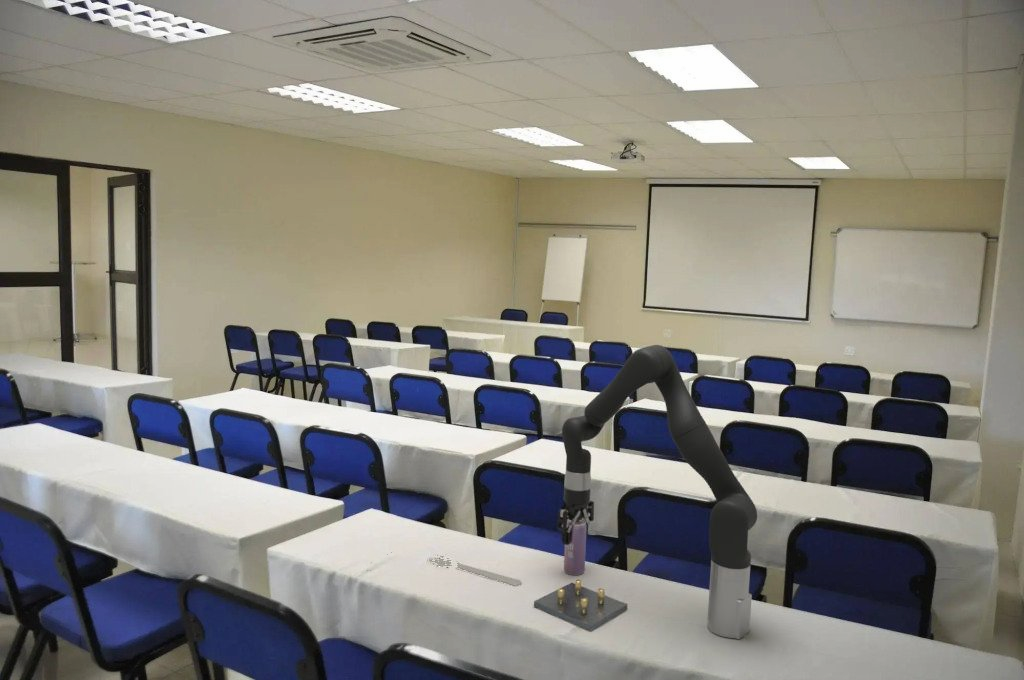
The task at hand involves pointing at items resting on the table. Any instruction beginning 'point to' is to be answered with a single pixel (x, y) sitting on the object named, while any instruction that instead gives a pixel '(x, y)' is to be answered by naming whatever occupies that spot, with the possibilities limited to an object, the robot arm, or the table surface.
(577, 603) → the chassis plate
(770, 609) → the table surface
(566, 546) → the beverage can
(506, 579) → the wrench
